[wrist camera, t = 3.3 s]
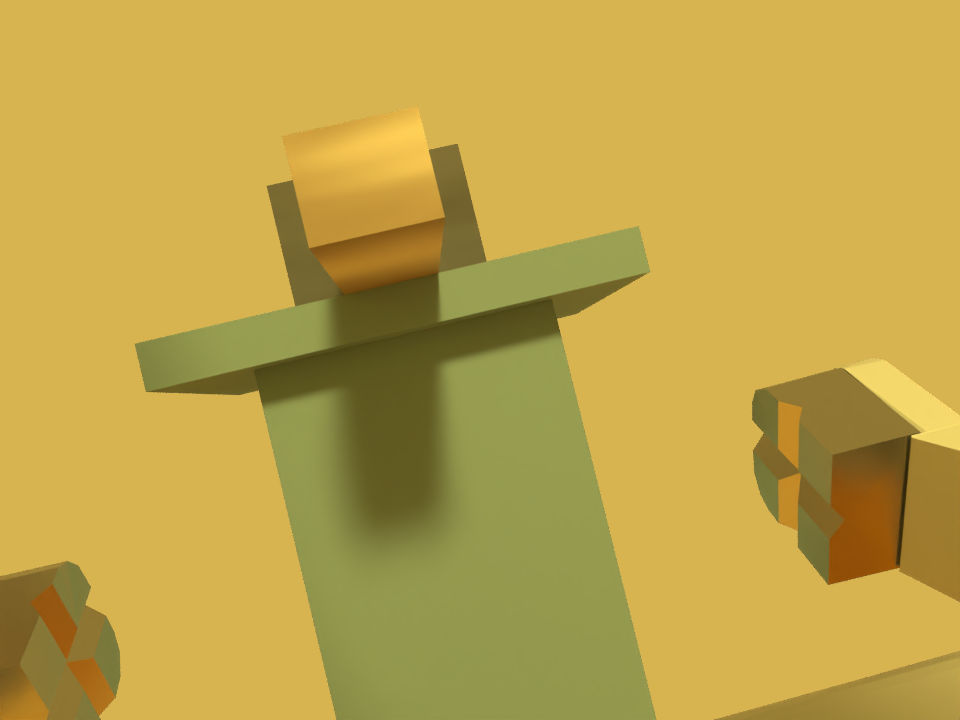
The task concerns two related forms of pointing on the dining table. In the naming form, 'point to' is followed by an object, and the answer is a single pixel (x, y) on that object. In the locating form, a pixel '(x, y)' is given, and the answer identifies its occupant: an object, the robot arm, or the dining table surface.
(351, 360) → the stand
